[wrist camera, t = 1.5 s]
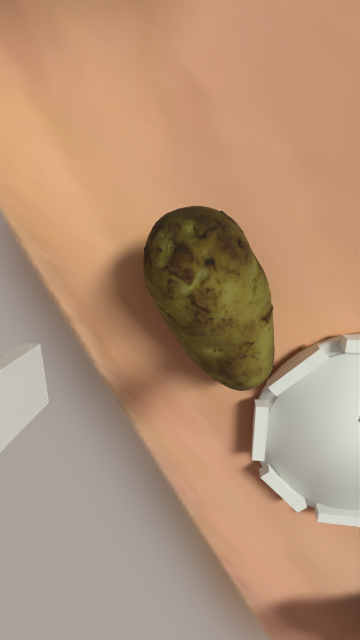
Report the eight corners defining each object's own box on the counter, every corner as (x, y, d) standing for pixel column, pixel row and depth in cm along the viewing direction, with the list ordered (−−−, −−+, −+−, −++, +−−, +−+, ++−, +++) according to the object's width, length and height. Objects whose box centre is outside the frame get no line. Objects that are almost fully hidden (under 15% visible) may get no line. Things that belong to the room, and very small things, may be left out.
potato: (167, 370, 27) (145, 430, 20) (155, 211, 23) (120, 209, 16) (268, 371, 26) (285, 435, 18) (272, 203, 22) (296, 197, 14)
